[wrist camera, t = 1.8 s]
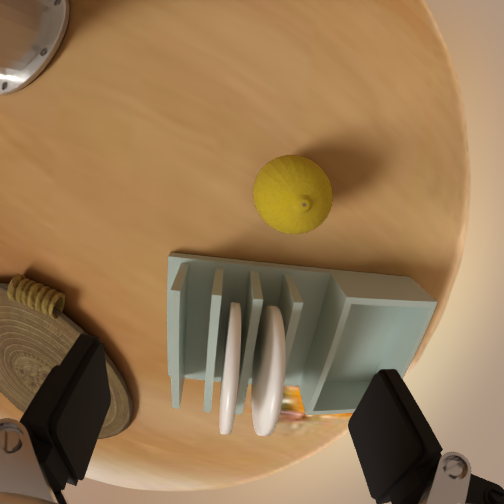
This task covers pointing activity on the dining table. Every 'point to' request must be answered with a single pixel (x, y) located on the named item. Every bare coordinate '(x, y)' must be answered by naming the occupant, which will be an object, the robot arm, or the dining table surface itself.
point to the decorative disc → (45, 348)
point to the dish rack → (287, 333)
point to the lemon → (292, 194)
